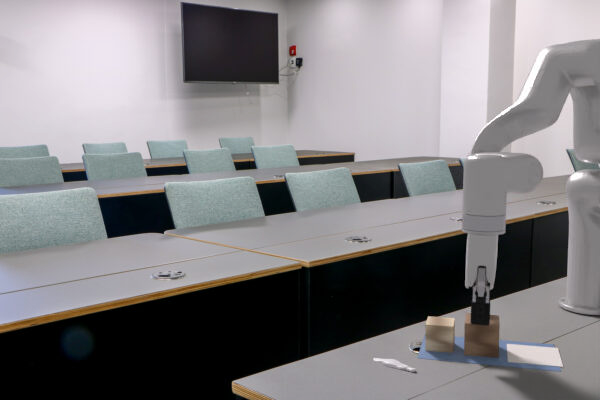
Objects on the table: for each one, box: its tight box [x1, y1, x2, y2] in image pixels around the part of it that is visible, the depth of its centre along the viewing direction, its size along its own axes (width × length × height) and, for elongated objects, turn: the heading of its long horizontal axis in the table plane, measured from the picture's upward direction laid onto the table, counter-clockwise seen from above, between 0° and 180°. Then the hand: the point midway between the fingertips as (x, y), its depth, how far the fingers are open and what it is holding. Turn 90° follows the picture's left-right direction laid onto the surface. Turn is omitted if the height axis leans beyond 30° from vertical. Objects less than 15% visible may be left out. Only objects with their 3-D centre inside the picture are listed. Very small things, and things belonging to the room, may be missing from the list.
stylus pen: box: [373, 357, 417, 373], centre depth 112 cm, size 15×3×2 cm, turn 44°
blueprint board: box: [417, 334, 564, 372], centre depth 115 cm, size 24×13×1 cm, turn 73°
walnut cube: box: [463, 312, 501, 358], centre depth 115 cm, size 6×6×6 cm
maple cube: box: [424, 315, 456, 353], centre depth 117 cm, size 5×5×5 cm
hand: (480, 316), depth 114 cm, fingers open, 9 cm apart
